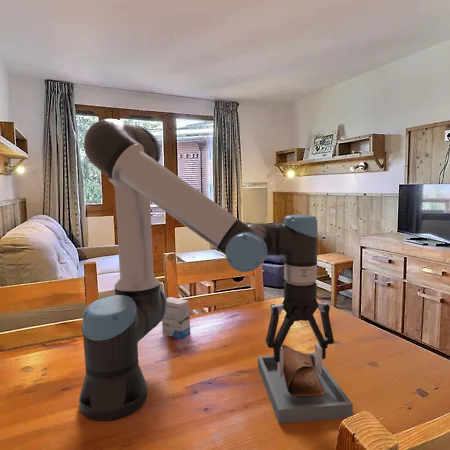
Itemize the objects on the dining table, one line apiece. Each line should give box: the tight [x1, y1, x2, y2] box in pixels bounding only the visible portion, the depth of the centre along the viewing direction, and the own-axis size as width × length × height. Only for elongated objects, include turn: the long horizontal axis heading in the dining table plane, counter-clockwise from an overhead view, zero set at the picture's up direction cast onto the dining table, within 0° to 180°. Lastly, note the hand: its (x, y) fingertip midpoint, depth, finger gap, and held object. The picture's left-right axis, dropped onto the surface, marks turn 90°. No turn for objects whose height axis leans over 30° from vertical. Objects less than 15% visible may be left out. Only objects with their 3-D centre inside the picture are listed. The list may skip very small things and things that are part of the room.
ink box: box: [161, 296, 191, 340], centre depth 118 cm, size 9×5×12 cm, turn 58°
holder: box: [257, 352, 354, 424], centre depth 86 cm, size 16×23×3 cm
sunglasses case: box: [281, 344, 325, 397], centre depth 85 cm, size 18×7×7 cm
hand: (299, 372), depth 86 cm, fingers closed on sunglasses case, 9 cm apart
